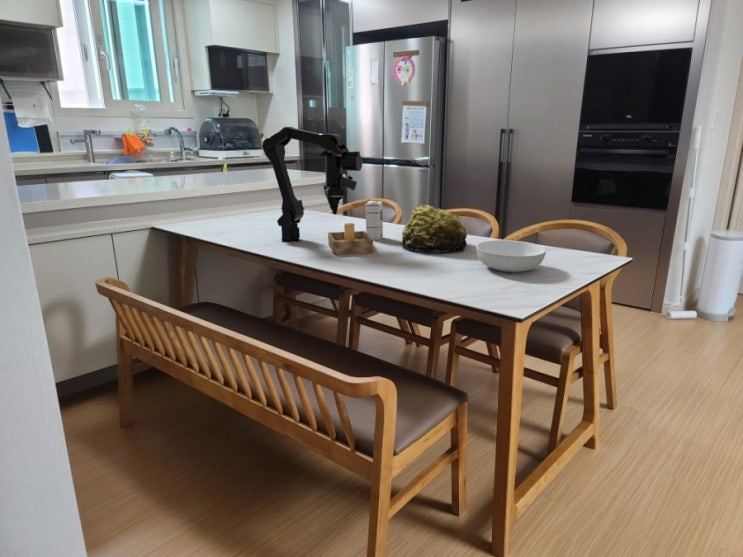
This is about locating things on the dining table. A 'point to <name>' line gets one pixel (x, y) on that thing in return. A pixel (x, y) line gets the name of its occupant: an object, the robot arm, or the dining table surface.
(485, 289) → the dining table surface
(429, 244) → the lumpy green mound
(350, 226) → the peg
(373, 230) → the syrup box
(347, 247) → the crate
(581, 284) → the dining table surface
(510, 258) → the serving bowl
